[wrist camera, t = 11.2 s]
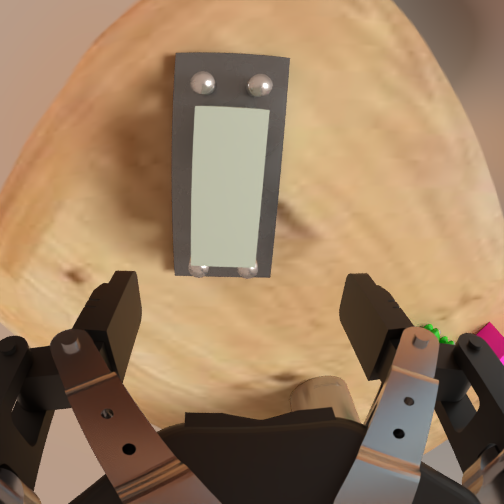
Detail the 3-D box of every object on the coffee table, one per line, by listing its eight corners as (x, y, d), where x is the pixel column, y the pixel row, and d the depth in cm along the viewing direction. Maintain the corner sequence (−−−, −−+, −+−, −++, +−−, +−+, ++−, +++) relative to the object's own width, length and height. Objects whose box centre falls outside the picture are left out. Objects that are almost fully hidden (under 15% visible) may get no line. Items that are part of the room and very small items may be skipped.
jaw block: (259, 108, 27) (269, 110, 20) (248, 233, 32) (255, 267, 26) (202, 105, 26) (195, 106, 20) (197, 231, 31) (190, 265, 25)
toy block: (463, 344, 45) (485, 372, 39) (489, 321, 44) (512, 347, 37) (478, 374, 51) (495, 398, 44) (499, 354, 49) (517, 377, 43)
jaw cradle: (268, 271, 35) (275, 298, 31) (176, 269, 34) (169, 296, 30) (287, 59, 26) (299, 51, 21) (177, 54, 25) (168, 45, 20)
